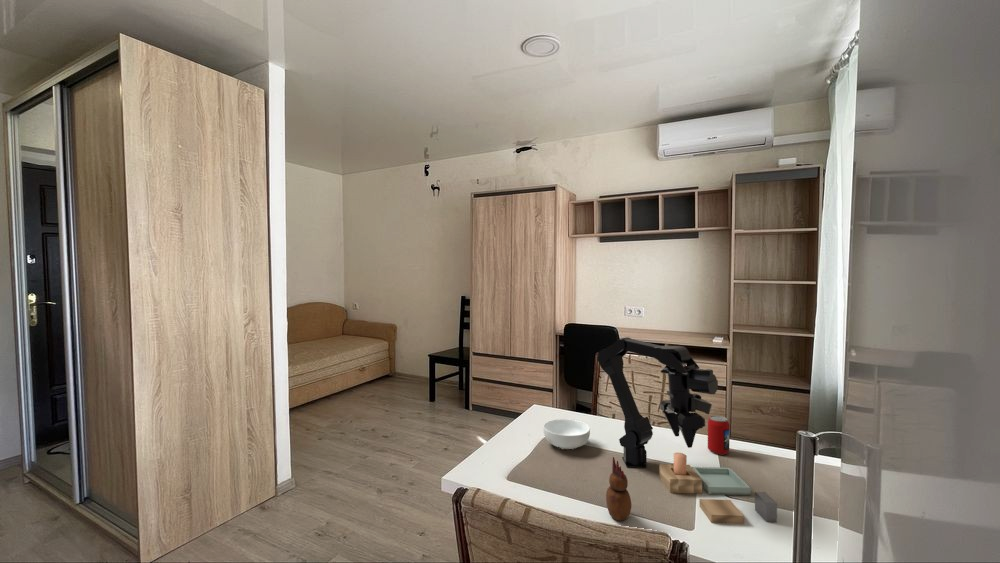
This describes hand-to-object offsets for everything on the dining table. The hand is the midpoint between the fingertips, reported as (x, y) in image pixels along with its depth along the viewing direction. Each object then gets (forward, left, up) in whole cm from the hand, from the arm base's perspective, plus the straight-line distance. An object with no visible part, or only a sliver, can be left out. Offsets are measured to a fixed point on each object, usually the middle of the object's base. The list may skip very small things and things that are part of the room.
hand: (683, 441), depth 119 cm
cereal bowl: (-32, +26, -13) cm, 43 cm away
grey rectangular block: (+15, -15, -13) cm, 25 cm away
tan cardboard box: (+4, -15, -14) cm, 20 cm away
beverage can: (+21, +23, -13) cm, 34 cm away
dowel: (-1, 0, -13) cm, 13 cm away
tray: (+11, +1, -13) cm, 17 cm away
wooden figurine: (-23, -17, -13) cm, 31 cm away
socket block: (-1, 0, -13) cm, 13 cm away
